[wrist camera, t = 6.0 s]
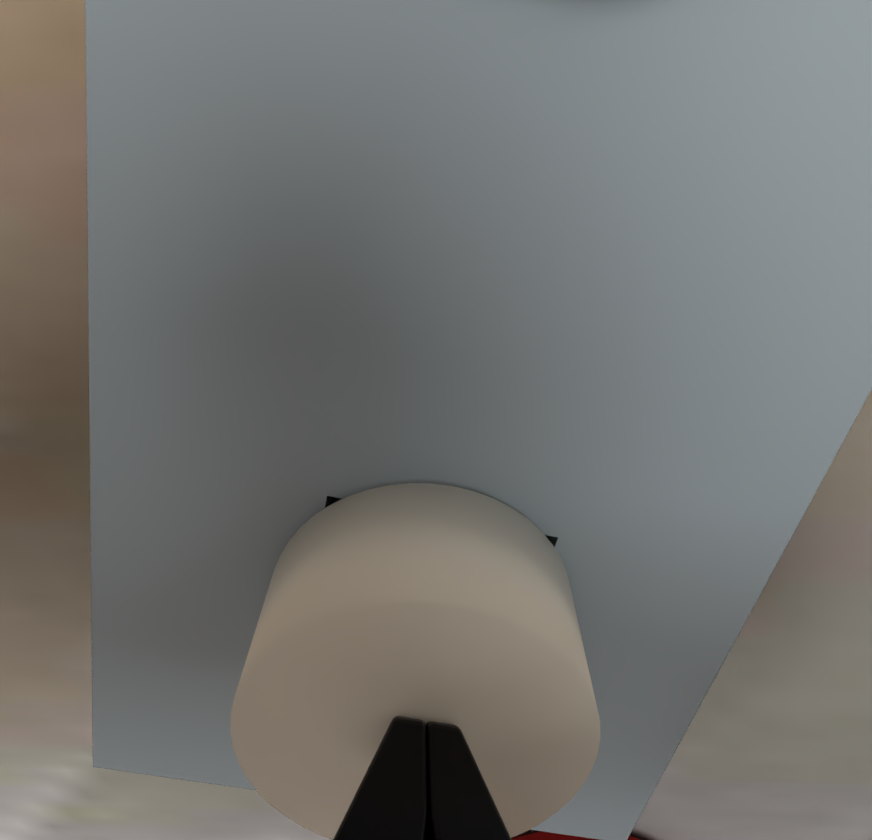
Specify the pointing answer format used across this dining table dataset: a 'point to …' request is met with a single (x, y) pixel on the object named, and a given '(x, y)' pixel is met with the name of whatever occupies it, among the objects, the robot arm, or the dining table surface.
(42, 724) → the dining table surface
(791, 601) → the dining table surface
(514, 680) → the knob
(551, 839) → the canned food
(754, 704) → the dining table surface
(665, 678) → the mount
